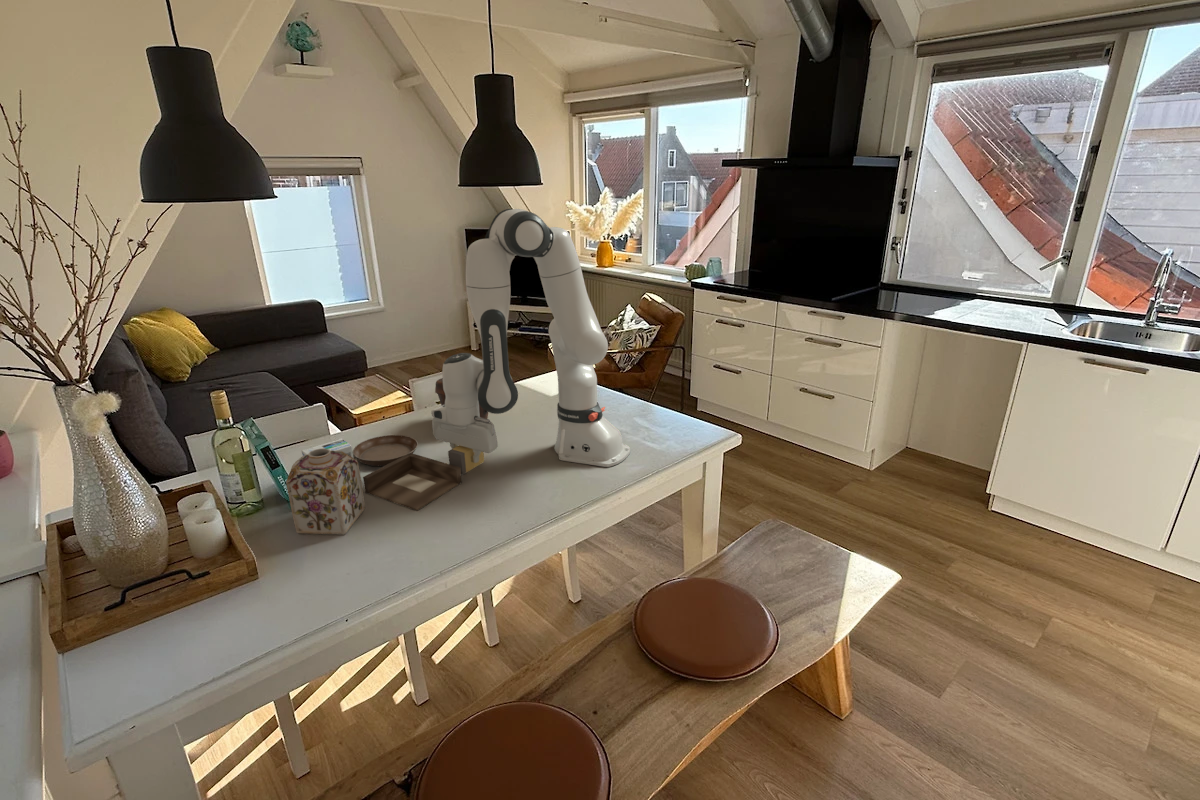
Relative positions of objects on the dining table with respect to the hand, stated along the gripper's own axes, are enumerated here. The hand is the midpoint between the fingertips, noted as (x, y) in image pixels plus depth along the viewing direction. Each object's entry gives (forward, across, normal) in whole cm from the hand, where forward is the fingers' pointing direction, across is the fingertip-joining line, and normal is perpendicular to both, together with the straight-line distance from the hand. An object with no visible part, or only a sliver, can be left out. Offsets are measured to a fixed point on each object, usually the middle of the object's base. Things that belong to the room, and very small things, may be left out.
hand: (466, 459), depth 166 cm
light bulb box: (+2, +24, +25) cm, 35 cm away
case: (+2, +20, -23) cm, 31 cm away
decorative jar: (+2, +9, +37) cm, 38 cm away
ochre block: (+2, 0, 0) cm, 2 cm away
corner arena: (+2, +4, +16) cm, 17 cm away
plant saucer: (+3, +25, +6) cm, 26 cm away
